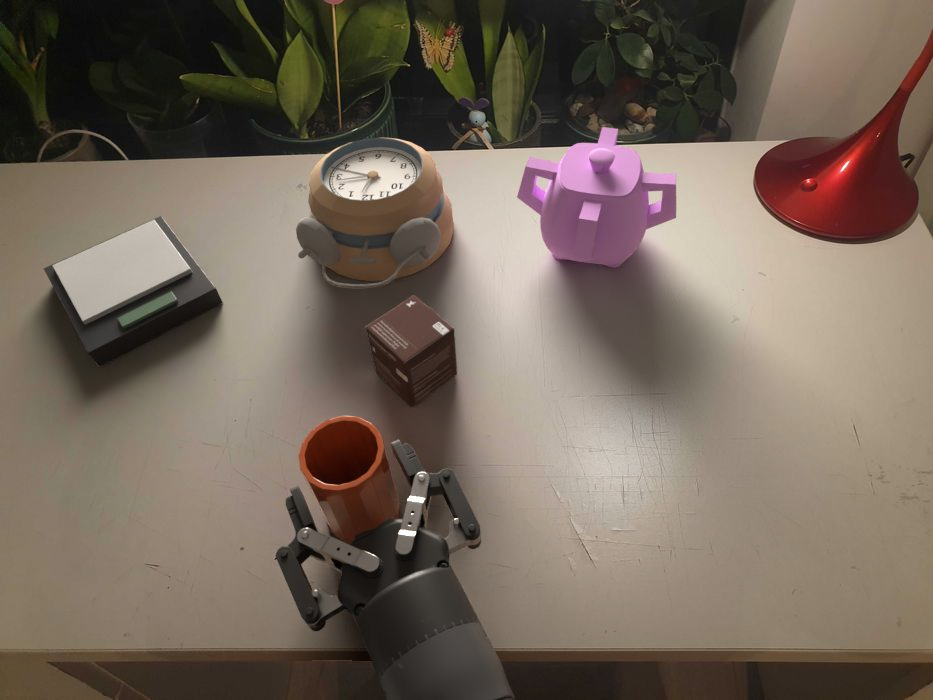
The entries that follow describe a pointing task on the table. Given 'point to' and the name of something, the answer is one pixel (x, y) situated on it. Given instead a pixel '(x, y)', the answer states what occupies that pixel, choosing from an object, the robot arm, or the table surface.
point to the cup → (349, 475)
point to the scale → (131, 289)
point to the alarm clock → (376, 212)
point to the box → (413, 350)
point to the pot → (597, 201)
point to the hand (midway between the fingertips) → (346, 468)
